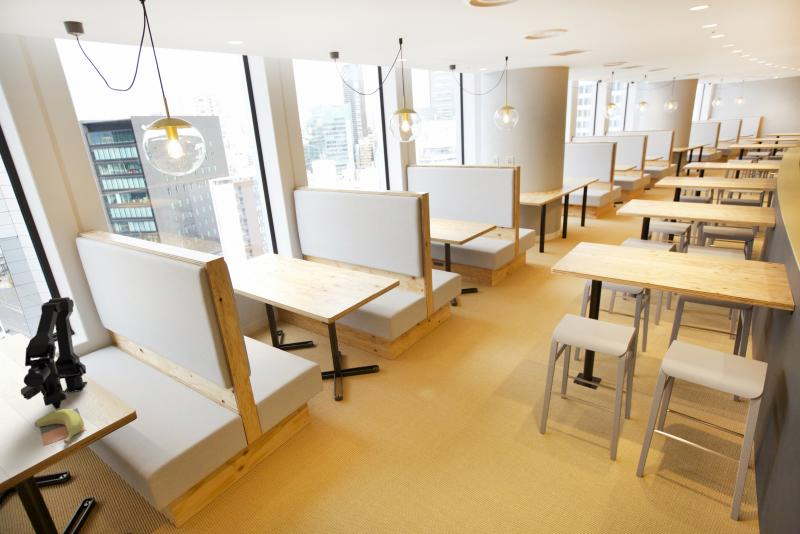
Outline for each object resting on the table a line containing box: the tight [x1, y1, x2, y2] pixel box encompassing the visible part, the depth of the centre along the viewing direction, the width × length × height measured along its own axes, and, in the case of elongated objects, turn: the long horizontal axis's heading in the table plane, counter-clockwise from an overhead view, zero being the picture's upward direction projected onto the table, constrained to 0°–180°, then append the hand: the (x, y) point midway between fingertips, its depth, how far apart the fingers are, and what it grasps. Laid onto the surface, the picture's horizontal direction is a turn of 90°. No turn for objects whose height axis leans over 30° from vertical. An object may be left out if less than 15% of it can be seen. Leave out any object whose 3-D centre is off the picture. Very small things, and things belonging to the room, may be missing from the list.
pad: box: [40, 425, 86, 447], centre depth 156 cm, size 8×12×1 cm, turn 133°
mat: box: [39, 407, 81, 435], centre depth 162 cm, size 10×12×1 cm
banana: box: [34, 408, 85, 444], centre depth 155 cm, size 14×6×20 cm
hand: (57, 408), depth 166 cm, fingers closed
